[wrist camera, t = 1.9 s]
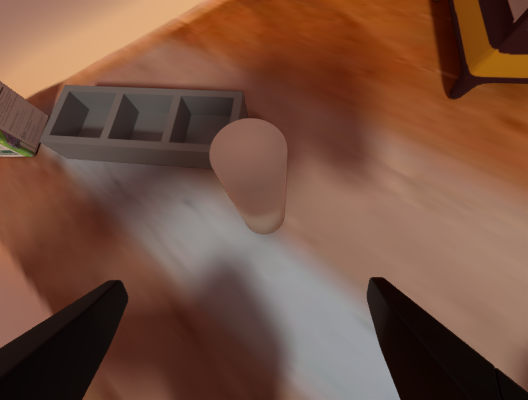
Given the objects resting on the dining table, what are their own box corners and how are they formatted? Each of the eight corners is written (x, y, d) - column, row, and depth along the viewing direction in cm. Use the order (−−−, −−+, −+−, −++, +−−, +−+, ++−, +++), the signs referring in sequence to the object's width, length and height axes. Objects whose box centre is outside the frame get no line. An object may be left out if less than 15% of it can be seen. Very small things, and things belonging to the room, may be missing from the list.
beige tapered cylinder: (241, 232, 23) (202, 184, 12) (246, 193, 24) (216, 116, 13) (282, 236, 23) (284, 190, 11) (286, 196, 24) (290, 120, 13)
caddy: (68, 158, 27) (38, 141, 24) (89, 107, 29) (65, 85, 26) (238, 170, 25) (232, 153, 22) (247, 114, 27) (243, 91, 24)
